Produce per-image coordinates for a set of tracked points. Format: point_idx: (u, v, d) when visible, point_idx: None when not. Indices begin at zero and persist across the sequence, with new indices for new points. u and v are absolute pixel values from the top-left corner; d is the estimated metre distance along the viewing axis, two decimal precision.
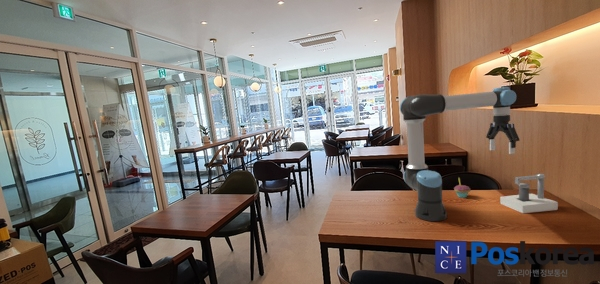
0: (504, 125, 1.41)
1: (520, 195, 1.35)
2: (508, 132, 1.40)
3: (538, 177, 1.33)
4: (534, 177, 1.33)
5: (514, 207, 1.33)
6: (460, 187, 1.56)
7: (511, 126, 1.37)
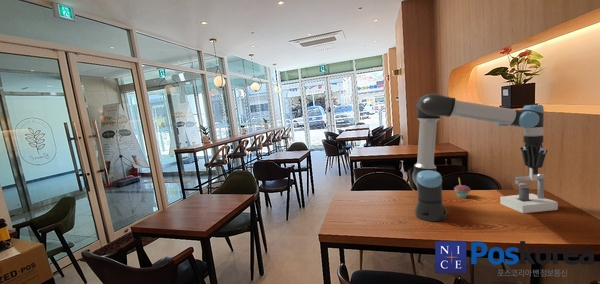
0: (537, 147, 1.27)
1: (520, 195, 1.35)
2: (536, 157, 1.29)
3: (538, 177, 1.33)
4: None
5: (514, 207, 1.33)
6: (460, 187, 1.56)
7: (543, 153, 1.25)
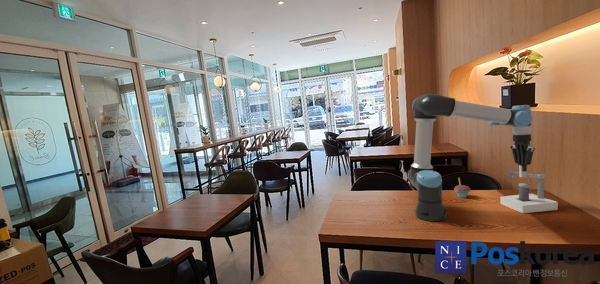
0: (525, 145, 1.34)
1: (520, 195, 1.35)
2: (524, 154, 1.36)
3: (534, 176, 1.35)
4: (529, 175, 1.37)
5: (514, 207, 1.33)
6: (460, 187, 1.56)
7: (531, 151, 1.32)
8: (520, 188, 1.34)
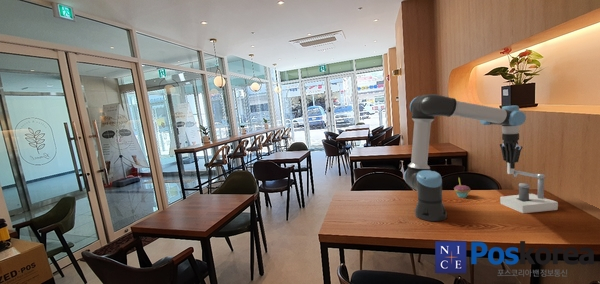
0: (513, 144, 1.41)
1: (520, 195, 1.35)
2: (513, 153, 1.43)
3: (534, 176, 1.36)
4: (530, 174, 1.38)
5: (514, 207, 1.33)
6: (460, 187, 1.56)
7: (518, 149, 1.39)
8: (520, 188, 1.34)
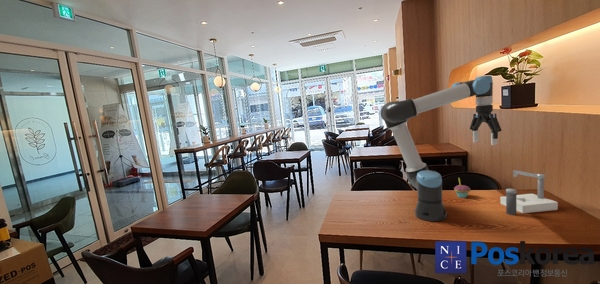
0: (486, 115, 1.36)
1: (507, 201, 1.29)
2: (490, 122, 1.34)
3: (534, 176, 1.36)
4: (530, 174, 1.38)
5: None
6: (460, 187, 1.56)
7: (493, 116, 1.32)
8: (507, 194, 1.28)
